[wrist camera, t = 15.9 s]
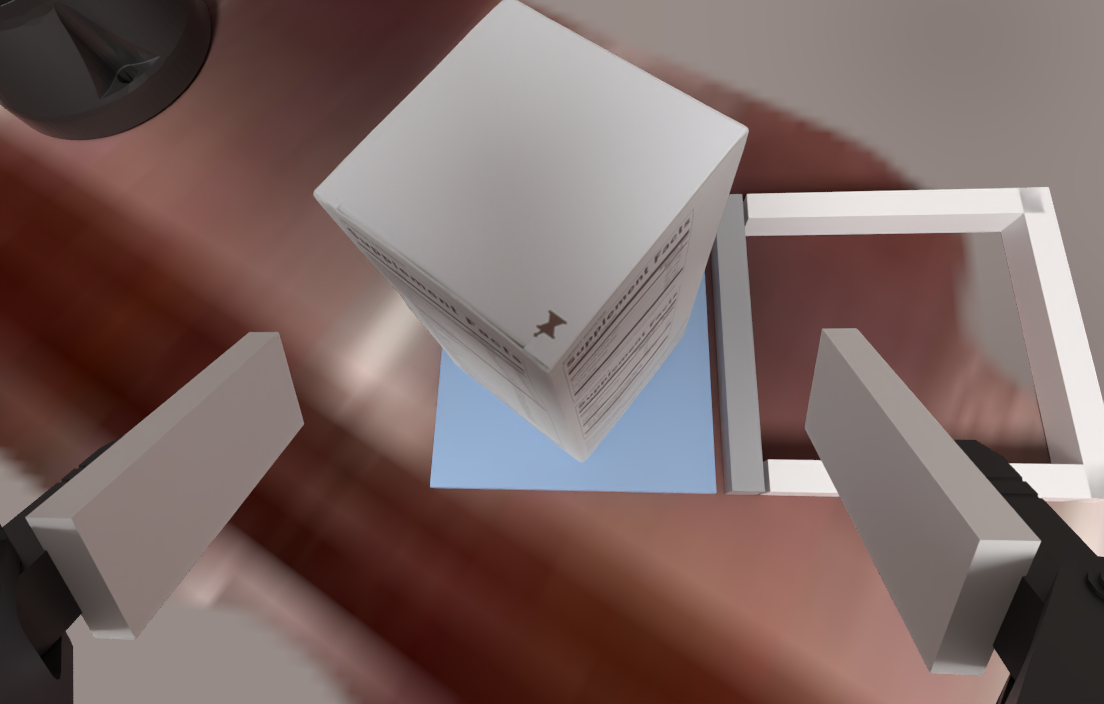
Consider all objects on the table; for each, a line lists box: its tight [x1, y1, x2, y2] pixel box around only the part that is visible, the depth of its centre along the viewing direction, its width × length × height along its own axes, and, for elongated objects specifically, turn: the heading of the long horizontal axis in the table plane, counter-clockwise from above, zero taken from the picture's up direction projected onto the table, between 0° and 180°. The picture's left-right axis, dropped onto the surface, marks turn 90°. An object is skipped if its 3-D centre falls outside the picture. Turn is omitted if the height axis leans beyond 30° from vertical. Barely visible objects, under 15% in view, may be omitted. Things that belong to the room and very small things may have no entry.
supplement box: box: [313, 0, 749, 462], centre depth 25 cm, size 10×9×17 cm
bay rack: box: [430, 187, 1104, 502], centre depth 32 cm, size 16×32×2 cm, turn 88°
